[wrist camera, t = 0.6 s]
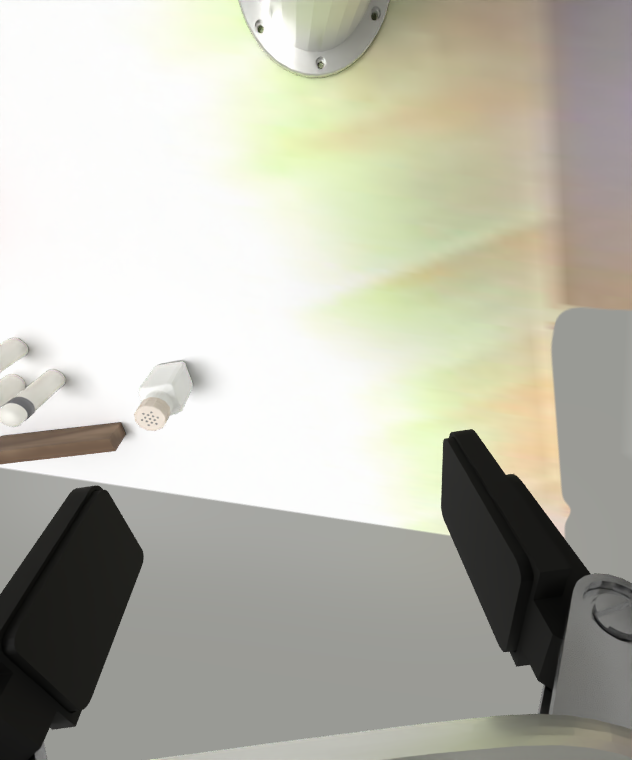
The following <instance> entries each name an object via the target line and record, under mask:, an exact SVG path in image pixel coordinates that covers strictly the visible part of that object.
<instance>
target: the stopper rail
mask: <svg viewBox="0 0 632 760" xmlns="http://www.w3.org/2000/svg"><path fill="white" fill-rule="evenodd" d="M125 435H126V433H125V431H124V429H123V426H122V424H121V422H119V423H111V424H102V425H93V426H84V427H76V428H67V429H58V430H49V431H41V432H32V433H23V434H15V435H6V436H1V437H0V464H6V463H15V462H24V461H33V460H41V459H50V458H59V457H67V456H76V455H85V454H94V453H102V452H111V451H116V449H117V448H118V446H119V444H120V443H121V441H122V440H123V438H124V437H125Z"/></svg>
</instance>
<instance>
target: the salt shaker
mask: <svg viewBox="0 0 632 760" xmlns="http://www.w3.org/2000/svg"><path fill="white" fill-rule="evenodd" d="M192 388H193V383H192V380H191V378H190V375H189V372H188V369H187V367H186V364H185V363H184V362H182V361H180V362H174V363H168V364H162V365H157V366H155V367H154V368H153V369H152V371H151V372H150V374H149V375H148V377H147V378H146V379H145V381H144V382H143V384H142V385H141V386H140V388H139V396H140V399H141V404H140V406H139V407H138V409H137V410H136V412H135V414H134V417H135V422H136V423H137V424H138V425H139V426H140V427H141V428H143V429H146V430H149V431H156V430H159V429H161V428H163V426H164V425H165V423H166V422H167V420H168V418H169V416H170V415H174V414H178V413H179V412H181V411H182V410H183V408H184V406H185V403H186V401H187V399H188V397H189V395H190V393H191V390H192Z"/></svg>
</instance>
